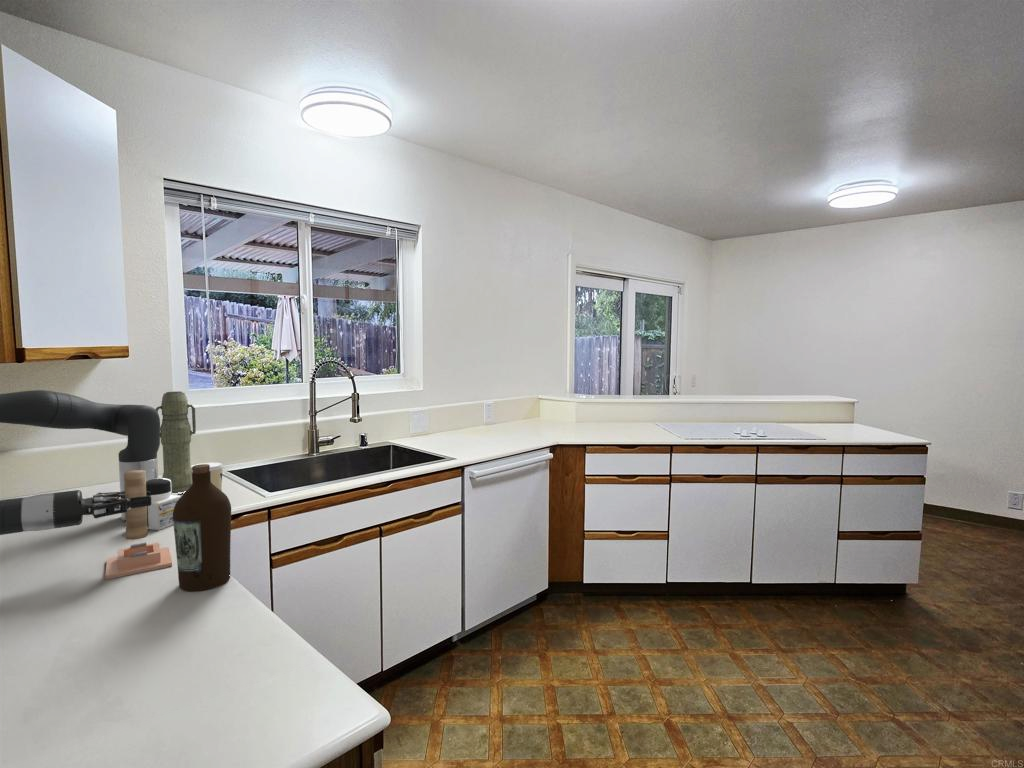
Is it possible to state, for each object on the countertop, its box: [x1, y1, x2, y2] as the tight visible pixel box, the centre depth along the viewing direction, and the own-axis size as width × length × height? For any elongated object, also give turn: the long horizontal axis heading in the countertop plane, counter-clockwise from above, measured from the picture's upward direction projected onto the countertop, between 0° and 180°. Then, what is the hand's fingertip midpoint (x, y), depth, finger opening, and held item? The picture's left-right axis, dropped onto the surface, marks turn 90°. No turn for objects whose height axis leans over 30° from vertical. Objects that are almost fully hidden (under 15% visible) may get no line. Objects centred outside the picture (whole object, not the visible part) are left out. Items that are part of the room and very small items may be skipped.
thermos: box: [154, 391, 197, 493], centre depth 182 cm, size 9×12×35 cm
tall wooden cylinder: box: [124, 470, 148, 541], centre depth 120 cm, size 4×4×15 cm
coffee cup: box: [190, 461, 224, 492], centre depth 171 cm, size 9×9×12 cm
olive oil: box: [172, 464, 232, 592], centre depth 111 cm, size 11×11×25 cm
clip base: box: [105, 541, 173, 580], centre depth 121 cm, size 12×12×4 cm
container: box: [146, 477, 181, 531], centre depth 148 cm, size 8×8×13 cm
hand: (150, 498), depth 121 cm, fingers closed on tall wooden cylinder, 4 cm apart
